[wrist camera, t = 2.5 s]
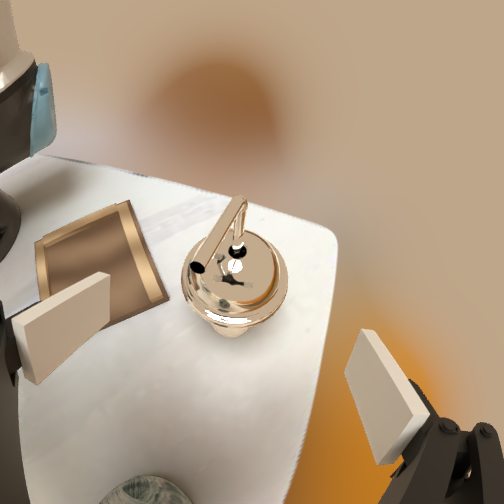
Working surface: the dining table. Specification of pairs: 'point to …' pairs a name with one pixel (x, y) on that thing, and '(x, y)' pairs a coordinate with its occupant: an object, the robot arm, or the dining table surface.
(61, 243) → the brown flat square tray
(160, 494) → the spool
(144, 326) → the dining table surface
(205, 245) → the cup with straw
